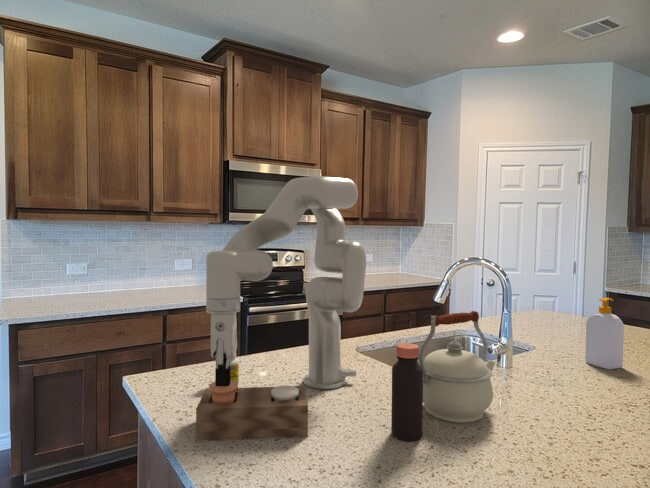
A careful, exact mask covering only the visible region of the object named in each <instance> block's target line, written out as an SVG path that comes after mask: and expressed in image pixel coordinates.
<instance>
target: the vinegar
mask: <svg viewBox="0 0 650 488" xmlns="http://www.w3.org/2000/svg"><path fill="white" fill-rule="evenodd" d="M395 349H396V358H397V361H396V362H395V363H394V364H393V365H392V367H391V420H390V421H391V428H390V429H391V430H390V431H391V435H392V436H393V437H394V438H395V439H397V440H399V441H402V442H403V441H404V442H415V441H418V440H420V439H422V436H423V421H424V420H423V418H424V417H423V416H424V415H423V409H424V408H423V405H424V403H423V369H422V367H421V366H420V365H419V364H420V363H419V361H418V360H419V352H420V346H419V345H418V344H415V343H408V342H401V343H398V344H396V348H395Z"/></svg>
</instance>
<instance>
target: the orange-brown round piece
mask: <svg viewBox="0 0 650 488" xmlns="http://www.w3.org/2000/svg"><path fill="white" fill-rule="evenodd" d="M238 388H239V384H238V383H237V382H236V381H233V380H231V382H230V385H229V386H216V385H215V381H212V382H211V383H209V385H208V389H209V391H210V392H211V393H212V403H235V391H236V390H237V389H238Z"/></svg>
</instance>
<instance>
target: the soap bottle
mask: <svg viewBox="0 0 650 488" xmlns="http://www.w3.org/2000/svg"><path fill="white" fill-rule="evenodd" d="M598 301H599V302H602V305H601V306H598V313H597V314H593V315H590V316H588V318H587V320H586V322H585V324H586V325H585V327H586V328H585V357H584V359H585V361H584V362H585V363H586V364H589V365H592V366H594V367H598V368H599V367H600V368H602V369H605V370H609V371H611V370H615V369H621V368H623V366H624V365H623V364H624V332H625V331H624V330H625V327H624V326H625V325H624V322H623V321H622V320H621V318H620V317H619V316H618V315H616V314H613V313H612V307H611V306H608V301H611V302H612V301H615V300H614V299H613V298H610V297H602V298H600V299H599V300H598Z"/></svg>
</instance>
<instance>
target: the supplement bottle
mask: <svg viewBox="0 0 650 488" xmlns="http://www.w3.org/2000/svg"><path fill="white" fill-rule="evenodd" d="M239 363H240V362H239V359H238V358H237V352H236V353H235V355H234V357H233V358H230V366H231V380H233V381H236V382H237V383H238V385H240V383H239V381H240V380H239V377H240V374H239V373H240V372H239V371H240V370H239V369H240V368H239V366H240V364H239Z"/></svg>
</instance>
